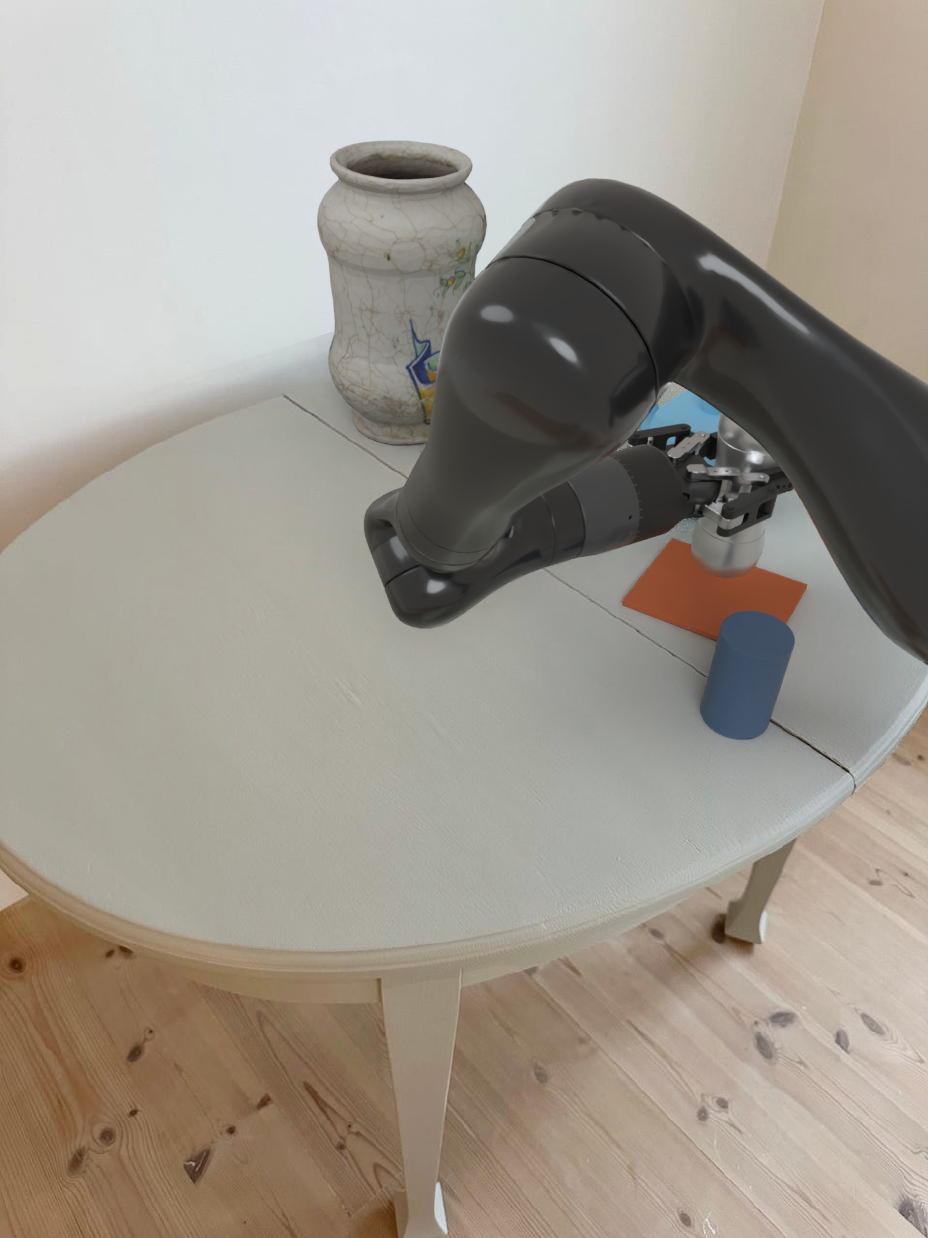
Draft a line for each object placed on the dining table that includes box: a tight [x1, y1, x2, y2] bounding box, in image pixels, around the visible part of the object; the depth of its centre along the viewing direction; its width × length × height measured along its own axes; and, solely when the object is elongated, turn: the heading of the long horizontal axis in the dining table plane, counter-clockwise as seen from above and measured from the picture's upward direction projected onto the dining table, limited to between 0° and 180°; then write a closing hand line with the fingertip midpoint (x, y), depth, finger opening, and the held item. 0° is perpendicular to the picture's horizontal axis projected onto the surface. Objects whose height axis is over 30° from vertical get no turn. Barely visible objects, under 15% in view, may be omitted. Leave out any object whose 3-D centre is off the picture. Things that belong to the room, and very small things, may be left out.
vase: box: [316, 140, 488, 445], centre depth 107 cm, size 18×18×30 cm
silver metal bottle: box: [690, 413, 778, 578], centre depth 82 cm, size 6×7×20 cm
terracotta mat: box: [621, 537, 808, 642], centre depth 91 cm, size 14×12×1 cm
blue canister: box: [699, 611, 796, 741], centre depth 76 cm, size 6×6×9 cm
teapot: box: [639, 389, 721, 466], centre depth 103 cm, size 12×18×12 cm
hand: (767, 455), depth 83 cm, fingers closed on silver metal bottle, 6 cm apart
